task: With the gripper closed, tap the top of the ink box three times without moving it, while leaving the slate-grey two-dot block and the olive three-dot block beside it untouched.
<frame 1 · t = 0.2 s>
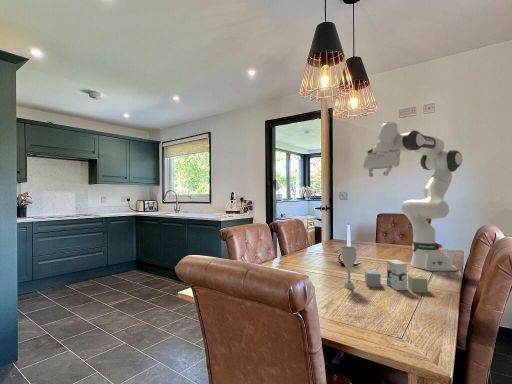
hand: (377, 176, 149), 52 cm above the table, tool tilted 20°, fingers open, 8 cm apart
olive block: (417, 290, 127), on the table
chalice: (349, 287, 132), on the table
ink box: (396, 287, 131), on the table
slate block: (372, 284, 135), on the table
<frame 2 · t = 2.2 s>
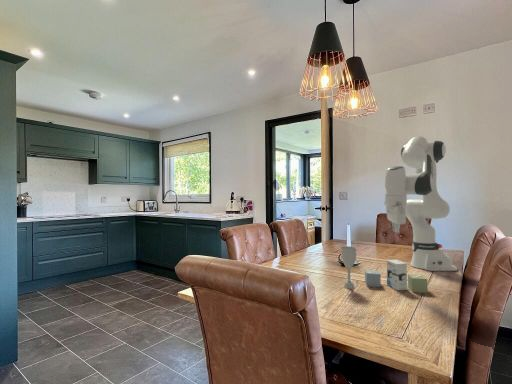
hand: (396, 232, 131), 25 cm above the table, tool pointing down, fingers closed
nothing on the table moved.
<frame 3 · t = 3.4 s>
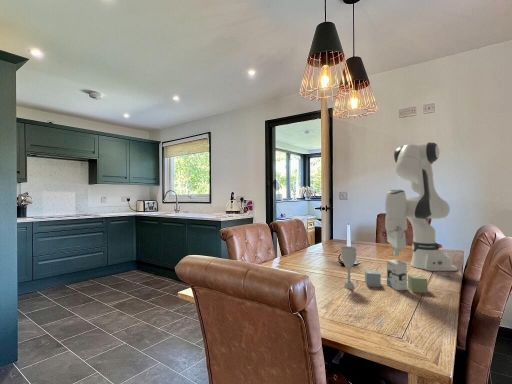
hand: (396, 255, 131), 14 cm above the table, tool pointing down, fingers closed
nothing on the table moved.
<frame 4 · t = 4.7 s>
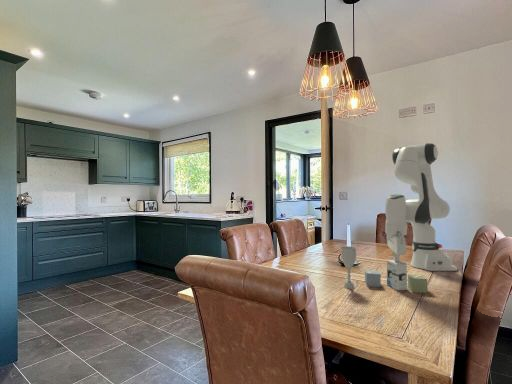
hand: (396, 260, 131), 12 cm above the table, tool pointing down, fingers closed
nothing on the table moved.
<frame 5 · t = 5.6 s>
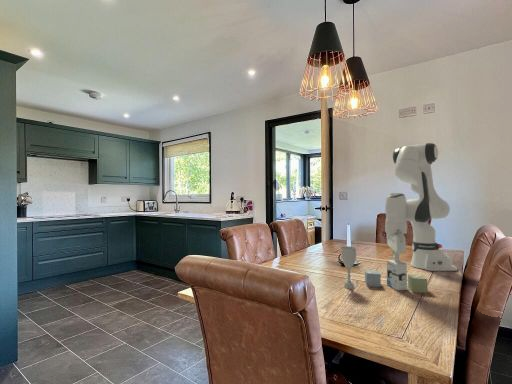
hand: (396, 259, 131), 13 cm above the table, tool pointing down, fingers closed
nothing on the table moved.
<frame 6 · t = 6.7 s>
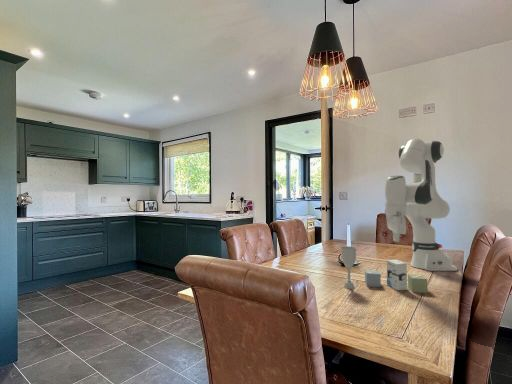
hand: (396, 241, 131), 21 cm above the table, tool pointing down, fingers closed
nothing on the table moved.
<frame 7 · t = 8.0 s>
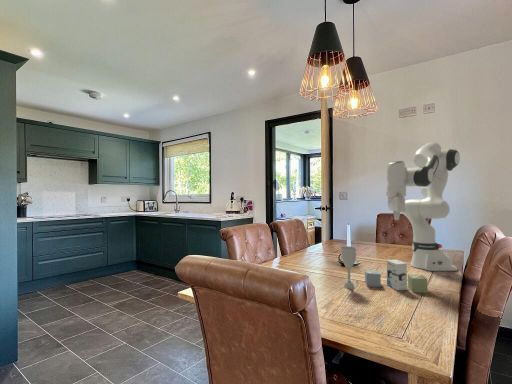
hand: (396, 219, 147), 29 cm above the table, tool pointing down, fingers closed
nothing on the table moved.
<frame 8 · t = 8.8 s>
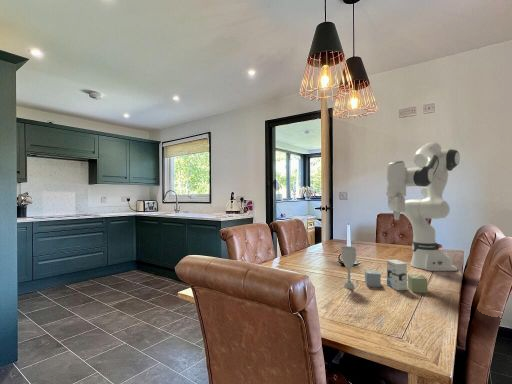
hand: (396, 219, 147), 29 cm above the table, tool pointing down, fingers closed
nothing on the table moved.
at the end: ink box moved 0.3 cm from its start; ink box tilted 0°; slate block moved 0.1 cm from its start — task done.
